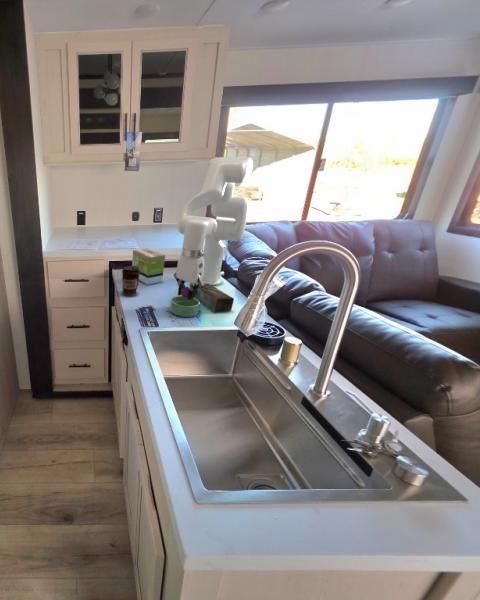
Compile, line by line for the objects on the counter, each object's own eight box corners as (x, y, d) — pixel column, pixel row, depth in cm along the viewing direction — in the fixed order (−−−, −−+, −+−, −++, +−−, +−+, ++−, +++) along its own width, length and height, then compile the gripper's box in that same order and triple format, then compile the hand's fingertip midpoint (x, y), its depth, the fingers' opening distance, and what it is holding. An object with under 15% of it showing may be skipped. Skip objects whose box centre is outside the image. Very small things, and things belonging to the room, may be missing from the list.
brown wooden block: (207, 294, 147) (209, 281, 145) (232, 312, 130) (235, 297, 128) (191, 295, 146) (193, 282, 143) (215, 313, 129) (217, 299, 126)
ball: (184, 294, 130) (186, 284, 129) (193, 297, 127) (195, 287, 125) (177, 296, 128) (178, 286, 126) (186, 300, 125) (187, 289, 123)
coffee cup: (138, 298, 144) (140, 271, 138) (120, 296, 145) (121, 270, 140) (138, 291, 152) (141, 265, 146) (121, 289, 153) (123, 264, 148)
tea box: (130, 276, 171) (132, 249, 165) (145, 273, 175) (148, 247, 169) (147, 285, 159) (149, 256, 153) (163, 282, 163) (166, 254, 157)
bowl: (182, 304, 138) (183, 293, 135) (203, 313, 129) (205, 302, 127) (163, 310, 132) (165, 299, 130) (185, 320, 123) (186, 309, 121)
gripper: (217, 256, 116) (209, 301, 123) (181, 247, 129) (176, 288, 136) (204, 259, 112) (196, 306, 119) (168, 249, 125) (163, 292, 132)
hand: (185, 296), depth 127 cm, fingers closed on ball, 4 cm apart
